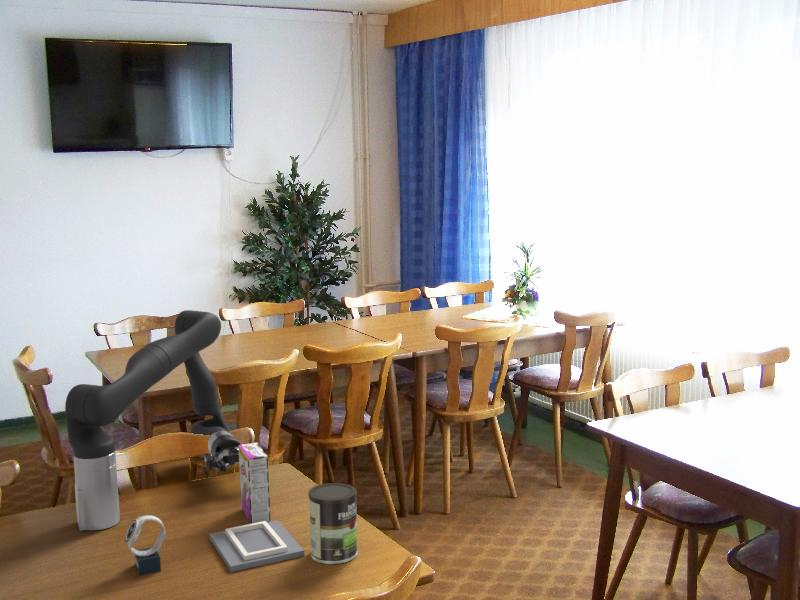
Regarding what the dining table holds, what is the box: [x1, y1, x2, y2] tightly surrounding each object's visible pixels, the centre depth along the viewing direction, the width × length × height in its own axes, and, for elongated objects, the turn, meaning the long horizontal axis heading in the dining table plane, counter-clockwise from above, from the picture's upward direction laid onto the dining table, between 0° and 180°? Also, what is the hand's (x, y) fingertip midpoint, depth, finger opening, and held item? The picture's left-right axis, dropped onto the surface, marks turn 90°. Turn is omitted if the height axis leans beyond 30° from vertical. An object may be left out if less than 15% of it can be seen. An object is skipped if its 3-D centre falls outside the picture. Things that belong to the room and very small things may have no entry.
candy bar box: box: [238, 442, 271, 524], centre depth 200 cm, size 11×5×16 cm, turn 23°
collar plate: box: [209, 519, 305, 573], centre depth 184 cm, size 16×18×2 cm
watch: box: [124, 514, 167, 576], centre depth 174 cm, size 6×8×11 cm
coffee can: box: [307, 482, 359, 565], centre depth 180 cm, size 10×10×14 cm
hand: (241, 466), depth 210 cm, fingers open, 8 cm apart
